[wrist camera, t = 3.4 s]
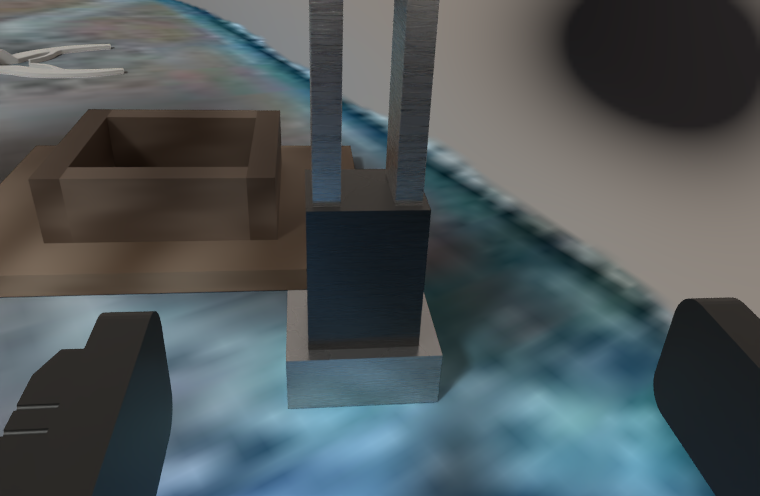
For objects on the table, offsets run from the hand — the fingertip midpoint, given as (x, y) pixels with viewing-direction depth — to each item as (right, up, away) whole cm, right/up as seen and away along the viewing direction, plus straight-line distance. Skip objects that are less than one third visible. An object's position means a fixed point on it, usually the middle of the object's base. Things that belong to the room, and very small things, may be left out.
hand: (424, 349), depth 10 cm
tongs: (-1, -3, +13) cm, 14 cm away
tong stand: (-11, +3, +23) cm, 25 cm away
